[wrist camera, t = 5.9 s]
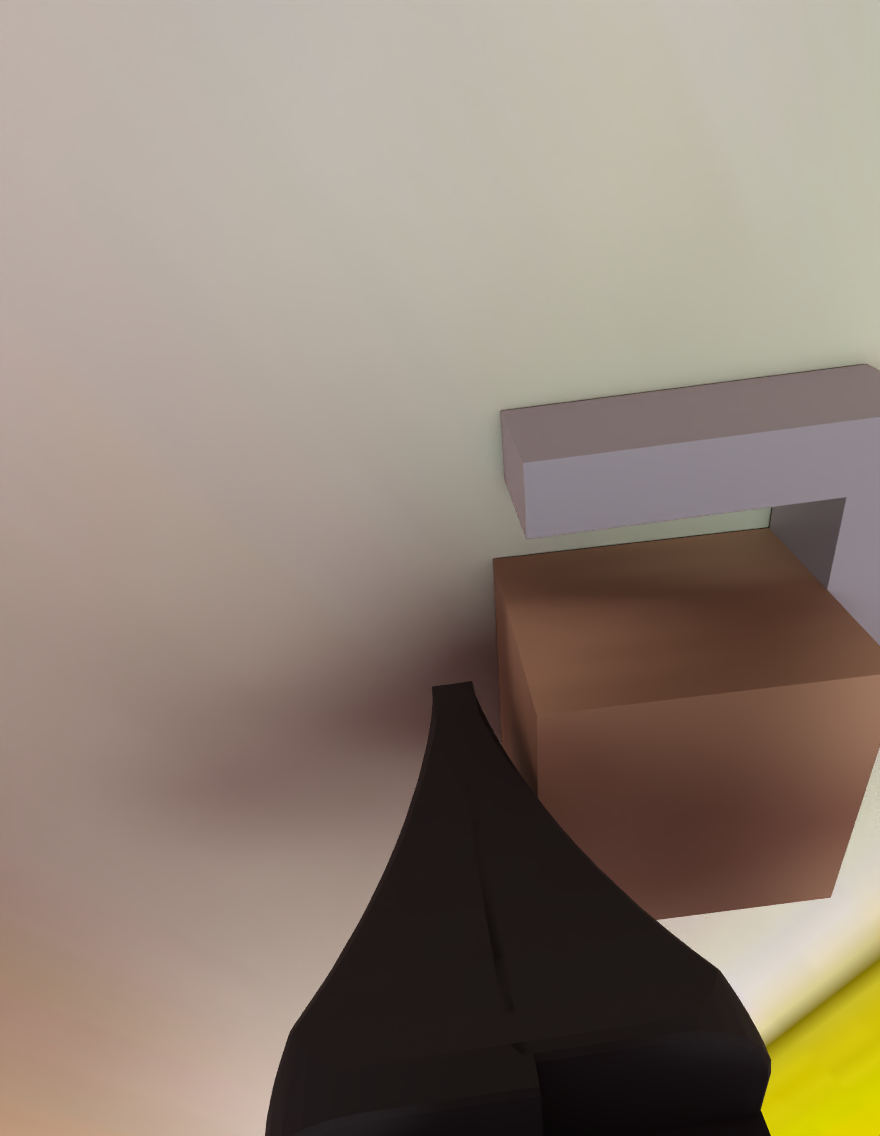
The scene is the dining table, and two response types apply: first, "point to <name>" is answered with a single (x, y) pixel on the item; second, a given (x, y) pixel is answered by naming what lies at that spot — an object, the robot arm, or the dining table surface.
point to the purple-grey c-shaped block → (717, 467)
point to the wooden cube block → (690, 715)
